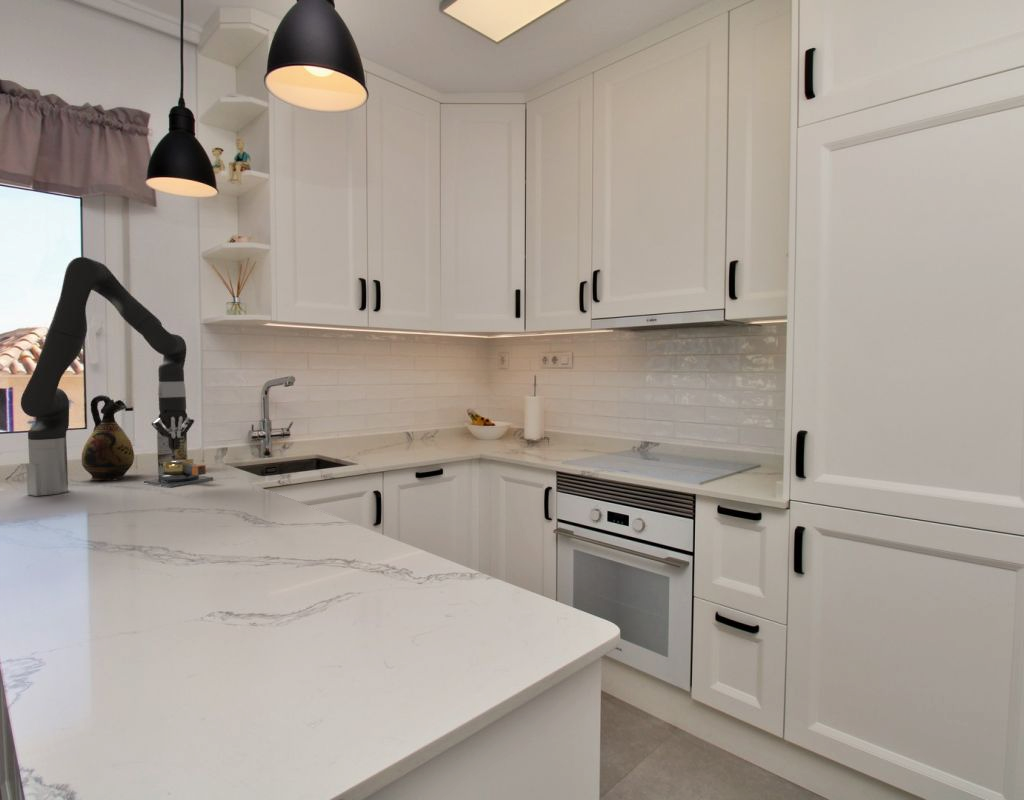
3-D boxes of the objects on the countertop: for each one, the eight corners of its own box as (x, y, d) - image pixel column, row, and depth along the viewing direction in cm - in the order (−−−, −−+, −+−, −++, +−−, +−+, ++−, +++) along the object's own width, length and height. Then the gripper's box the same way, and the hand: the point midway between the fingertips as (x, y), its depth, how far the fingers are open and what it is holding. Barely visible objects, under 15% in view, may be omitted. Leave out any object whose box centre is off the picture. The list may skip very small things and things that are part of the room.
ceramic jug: (145, 475, 208) (142, 394, 207) (111, 483, 193) (108, 395, 192) (103, 474, 210) (100, 394, 209) (66, 482, 195) (63, 396, 194)
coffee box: (174, 473, 212) (172, 430, 211) (157, 473, 212) (155, 431, 211) (188, 469, 221) (187, 428, 220) (172, 469, 221) (171, 428, 220)
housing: (169, 487, 184) (169, 465, 184) (143, 483, 191) (142, 462, 191) (213, 480, 197) (212, 459, 197) (187, 476, 204) (186, 456, 204)
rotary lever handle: (156, 473, 192) (156, 461, 192) (184, 469, 200) (183, 458, 200) (187, 477, 184) (187, 465, 184) (215, 473, 192) (214, 461, 192)
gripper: (157, 396, 173) (160, 452, 174) (199, 395, 185) (201, 447, 186) (144, 396, 177) (146, 451, 178) (185, 395, 189) (187, 446, 189)
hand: (174, 449), depth 182 cm, fingers closed
